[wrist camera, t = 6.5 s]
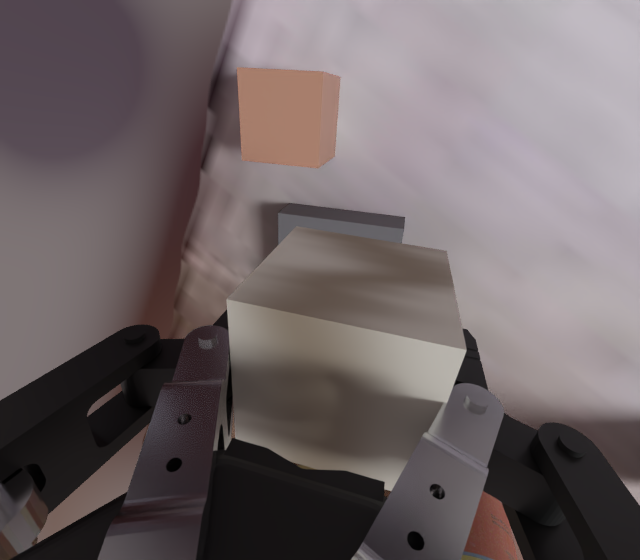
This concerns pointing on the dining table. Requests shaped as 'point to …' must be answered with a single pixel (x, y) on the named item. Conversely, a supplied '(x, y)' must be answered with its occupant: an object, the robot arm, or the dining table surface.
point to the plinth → (340, 222)
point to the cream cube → (344, 351)
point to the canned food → (490, 533)
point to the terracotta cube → (288, 116)
